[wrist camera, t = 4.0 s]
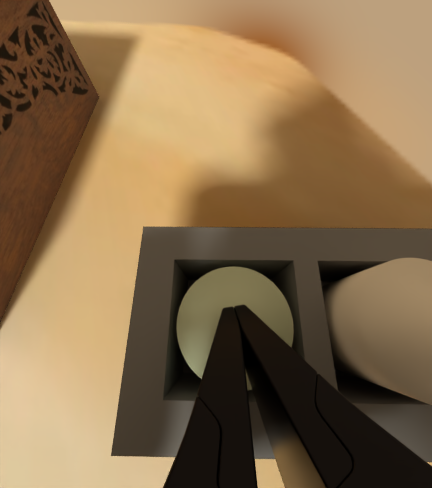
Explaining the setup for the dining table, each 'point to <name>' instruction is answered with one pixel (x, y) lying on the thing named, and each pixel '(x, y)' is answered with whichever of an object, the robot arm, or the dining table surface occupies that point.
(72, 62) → the tissue box cover
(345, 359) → the cream rounded egg shape
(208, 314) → the sage button
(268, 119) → the dining table surface
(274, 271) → the tray
